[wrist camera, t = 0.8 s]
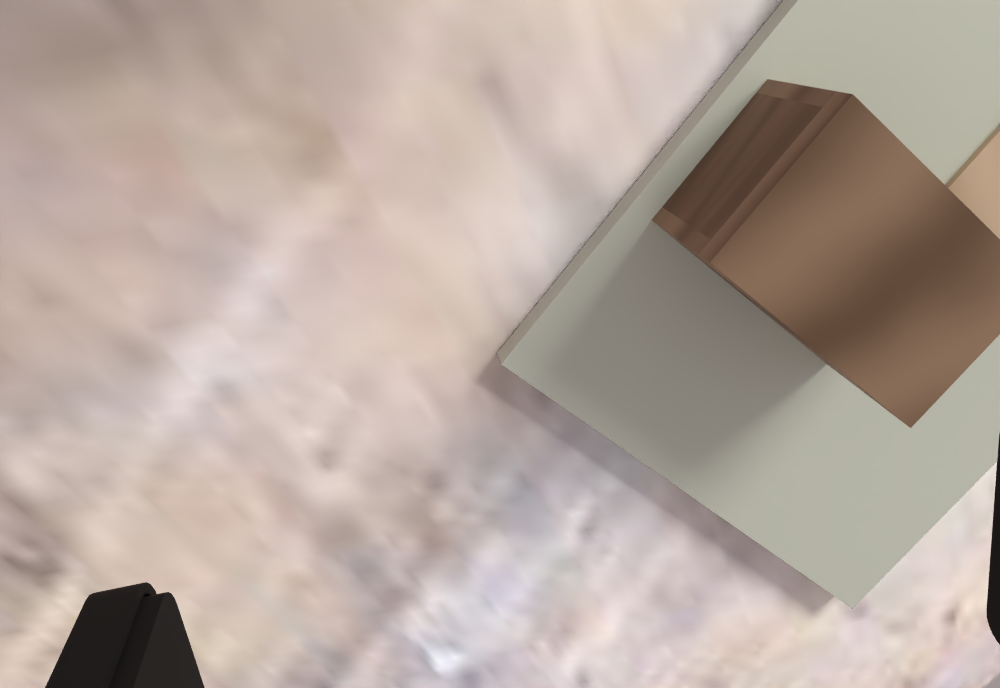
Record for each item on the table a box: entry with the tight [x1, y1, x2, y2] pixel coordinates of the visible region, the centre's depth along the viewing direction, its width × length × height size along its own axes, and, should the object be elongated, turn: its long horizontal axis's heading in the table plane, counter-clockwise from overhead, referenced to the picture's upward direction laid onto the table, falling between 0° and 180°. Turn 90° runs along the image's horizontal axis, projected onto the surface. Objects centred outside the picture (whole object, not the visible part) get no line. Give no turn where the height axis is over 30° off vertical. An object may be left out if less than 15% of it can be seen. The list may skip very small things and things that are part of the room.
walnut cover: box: [652, 79, 1000, 428], centre depth 32 cm, size 10×6×6 cm, turn 52°
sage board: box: [497, 0, 1000, 609], centre depth 36 cm, size 26×21×1 cm
